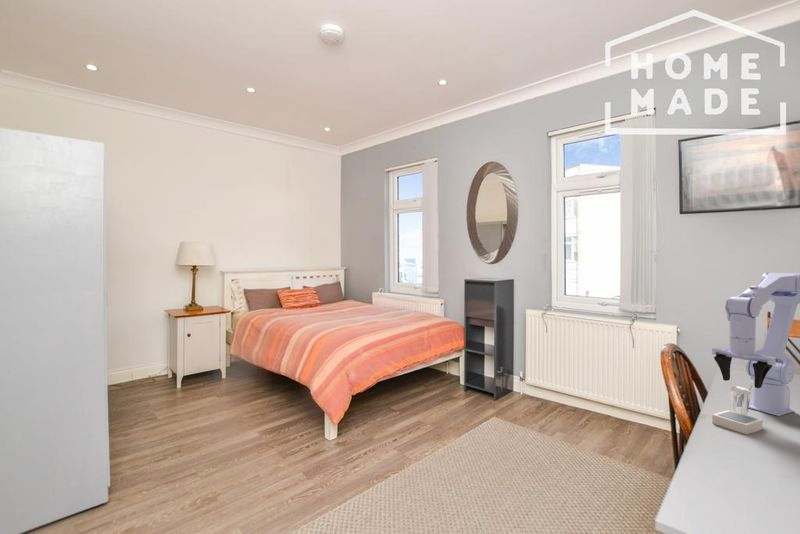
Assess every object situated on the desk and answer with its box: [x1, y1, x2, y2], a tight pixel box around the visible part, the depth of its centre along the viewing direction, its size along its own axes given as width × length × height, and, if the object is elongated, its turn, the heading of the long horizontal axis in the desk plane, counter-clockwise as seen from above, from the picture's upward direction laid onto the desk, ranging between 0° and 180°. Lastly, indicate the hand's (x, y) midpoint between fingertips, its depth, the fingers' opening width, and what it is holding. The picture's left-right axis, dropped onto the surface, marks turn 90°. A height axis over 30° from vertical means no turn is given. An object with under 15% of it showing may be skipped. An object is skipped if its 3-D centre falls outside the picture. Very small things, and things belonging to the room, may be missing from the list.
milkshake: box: [729, 384, 753, 416], centre depth 114 cm, size 4×5×10 cm
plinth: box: [711, 409, 764, 435], centre depth 108 cm, size 8×8×3 cm
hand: (741, 383), depth 114 cm, fingers open, 7 cm apart
